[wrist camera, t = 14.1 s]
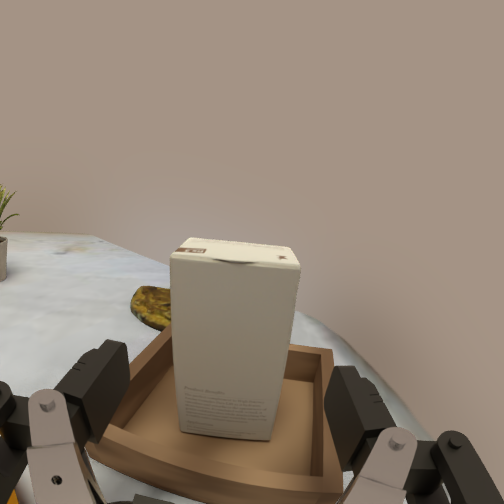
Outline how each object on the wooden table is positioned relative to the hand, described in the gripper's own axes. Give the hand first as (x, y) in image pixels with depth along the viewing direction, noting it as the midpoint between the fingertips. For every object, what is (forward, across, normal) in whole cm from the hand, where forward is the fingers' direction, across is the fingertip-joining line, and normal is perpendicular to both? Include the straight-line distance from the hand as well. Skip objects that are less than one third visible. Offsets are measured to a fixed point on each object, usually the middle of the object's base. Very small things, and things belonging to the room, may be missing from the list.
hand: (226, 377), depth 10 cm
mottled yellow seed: (+23, +8, +10) cm, 26 cm away
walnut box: (+6, 0, +9) cm, 11 cm away
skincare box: (+6, 0, +8) cm, 10 cm away
